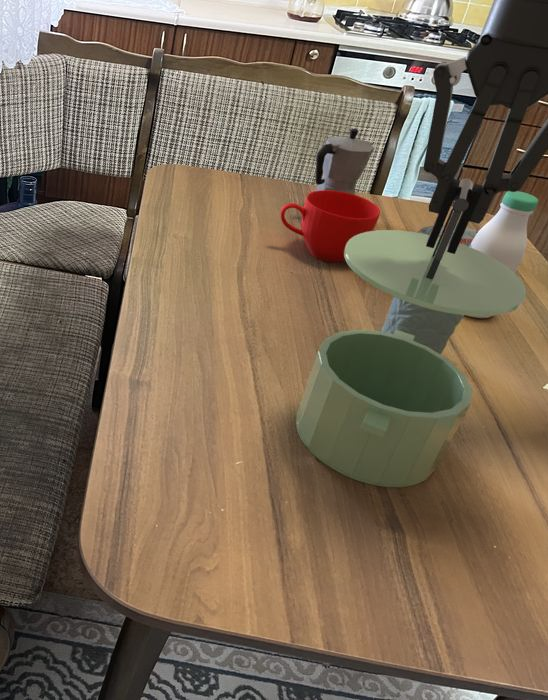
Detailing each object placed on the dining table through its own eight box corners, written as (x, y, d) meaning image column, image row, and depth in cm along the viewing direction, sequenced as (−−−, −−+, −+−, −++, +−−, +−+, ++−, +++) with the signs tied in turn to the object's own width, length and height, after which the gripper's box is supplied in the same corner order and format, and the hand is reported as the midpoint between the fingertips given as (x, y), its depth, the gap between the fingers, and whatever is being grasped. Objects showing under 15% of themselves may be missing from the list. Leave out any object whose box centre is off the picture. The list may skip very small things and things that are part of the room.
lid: (521, 269, 76) (564, 185, 71) (520, 342, 63) (573, 246, 57) (358, 225, 83) (385, 145, 77) (325, 283, 69) (355, 191, 64)
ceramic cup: (267, 232, 134) (280, 183, 128) (353, 243, 133) (370, 194, 127) (275, 262, 123) (290, 210, 117) (370, 274, 122) (389, 222, 117)
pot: (444, 415, 90) (478, 350, 84) (424, 525, 73) (464, 453, 67) (318, 370, 96) (340, 306, 90) (273, 462, 79) (297, 391, 73)
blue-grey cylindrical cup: (400, 325, 108) (428, 258, 101) (458, 359, 101) (493, 289, 95) (360, 341, 103) (387, 271, 96) (418, 377, 96) (451, 305, 90)
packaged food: (488, 260, 132) (499, 236, 129) (439, 264, 128) (449, 240, 126) (456, 241, 139) (465, 218, 136) (408, 244, 135) (417, 221, 132)
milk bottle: (503, 320, 113) (562, 207, 101) (459, 318, 112) (514, 204, 100) (477, 296, 119) (530, 187, 108) (436, 295, 118) (485, 184, 107)
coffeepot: (332, 201, 151) (357, 119, 140) (366, 218, 144) (396, 133, 134) (282, 211, 143) (306, 125, 133) (316, 229, 137) (344, 140, 127)
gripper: (453, -18, 57) (364, 238, 71) (654, 9, 52) (517, 280, 65) (460, -23, 63) (376, 215, 76) (642, 1, 58) (518, 252, 71)
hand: (441, 245), depth 71 cm, fingers closed on lid
